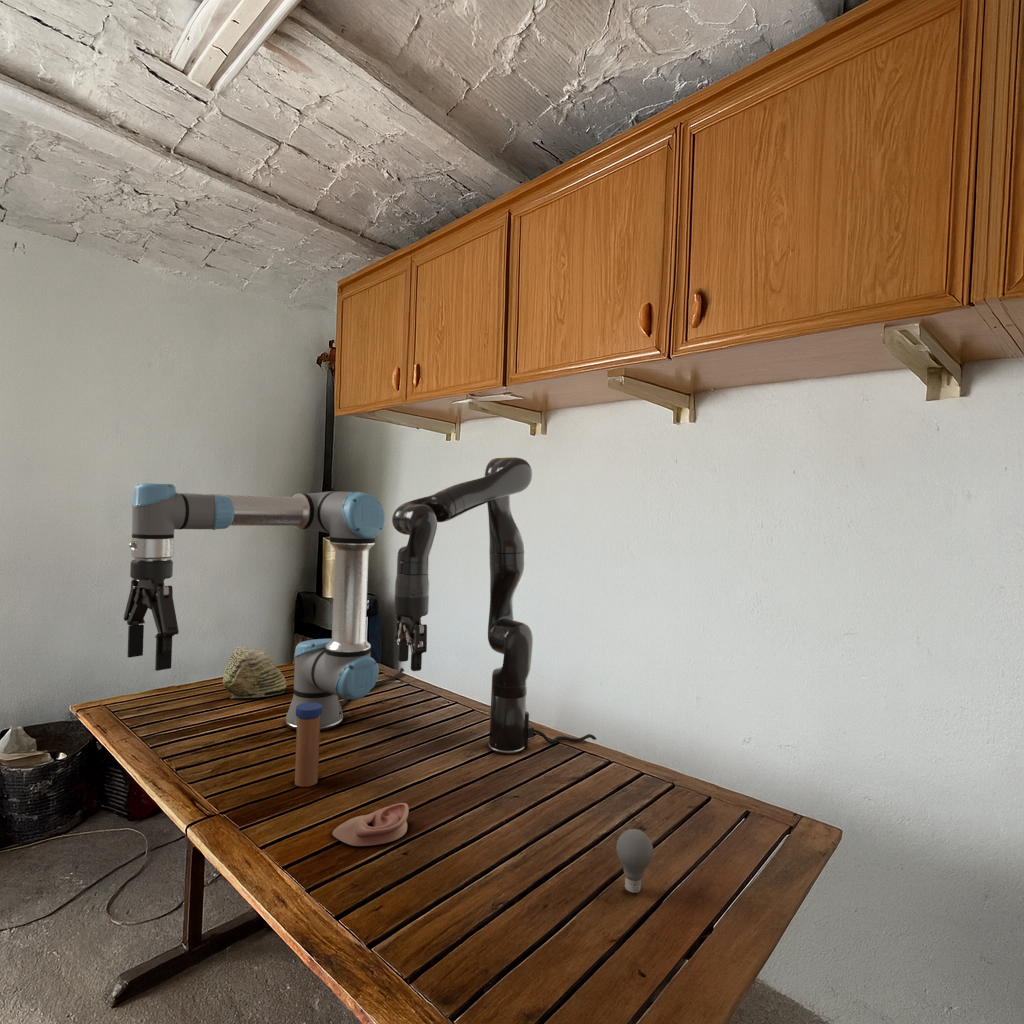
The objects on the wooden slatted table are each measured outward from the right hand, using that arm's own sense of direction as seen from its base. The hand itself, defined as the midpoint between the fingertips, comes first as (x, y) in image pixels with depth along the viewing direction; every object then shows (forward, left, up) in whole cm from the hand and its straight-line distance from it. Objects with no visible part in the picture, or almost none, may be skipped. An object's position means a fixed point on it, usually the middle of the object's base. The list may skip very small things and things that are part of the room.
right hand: (409, 665), depth 141 cm
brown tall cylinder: (+20, -9, -27) cm, 34 cm away
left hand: (+51, -14, +1) cm, 53 cm away
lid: (+20, -9, -10) cm, 24 cm away
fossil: (+23, -77, -27) cm, 84 cm away
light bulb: (-21, +53, -27) cm, 63 cm away
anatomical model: (+13, +17, -27) cm, 34 cm away
